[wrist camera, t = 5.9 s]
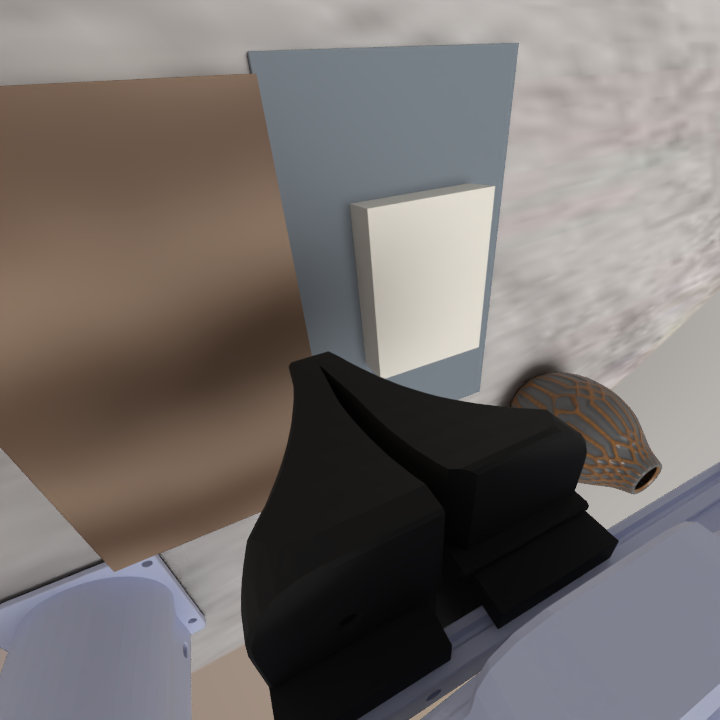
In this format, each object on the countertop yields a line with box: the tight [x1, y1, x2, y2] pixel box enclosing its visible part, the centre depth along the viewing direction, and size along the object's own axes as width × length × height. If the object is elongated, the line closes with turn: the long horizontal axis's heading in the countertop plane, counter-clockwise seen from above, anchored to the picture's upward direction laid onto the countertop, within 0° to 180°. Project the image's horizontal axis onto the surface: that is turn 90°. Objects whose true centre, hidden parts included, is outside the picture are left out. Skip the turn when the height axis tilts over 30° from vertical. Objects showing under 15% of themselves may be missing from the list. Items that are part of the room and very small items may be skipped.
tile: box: [350, 183, 495, 379], centre depth 17 cm, size 8×6×2 cm
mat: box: [247, 43, 519, 400], centre depth 18 cm, size 18×11×1 cm, turn 6°
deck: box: [0, 73, 312, 572], centre depth 13 cm, size 16×10×4 cm, turn 6°
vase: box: [511, 372, 662, 494], centre depth 24 cm, size 7×7×9 cm
